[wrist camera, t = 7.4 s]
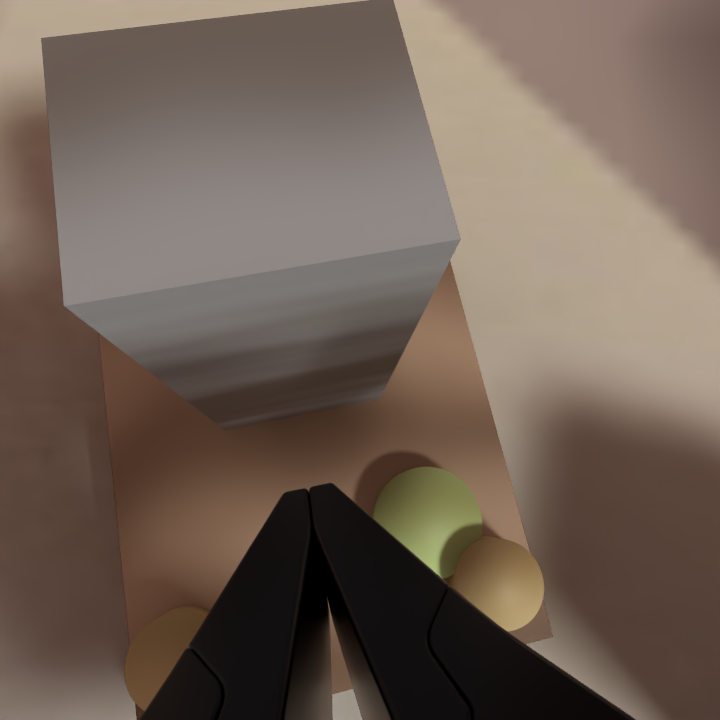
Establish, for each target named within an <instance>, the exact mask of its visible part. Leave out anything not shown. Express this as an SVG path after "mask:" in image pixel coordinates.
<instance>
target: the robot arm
mask: <svg viewBox="0 0 720 720" xmlns="http://www.w3.org/2000/svg"><path fill="white" fill-rule="evenodd" d="M328 603H329V606H328ZM329 608H330V612H331V616H332V620H333V624H334V628H335V631H336V634H337V637H338V641H339V644H340V647H341V650H342V654H343V657H344V660H345V663H346V667H347V670H348V673H349V677H350V680H351V683H352V686H353V690H354V693H355V696H356V699H357V703H358V706H359V709H360V713H361V716H362V719H363V720H636V719H634V718H633V717H631V716H630V715H628V714H627V713H625V712H624V711H623V710H621V709H620V708H618V707H617V706H615V705H614V704H612V703H611V702H609V701H608V700H606V699H605V698H603V697H602V696H600V695H599V694H597V693H596V692H595V691H593V690H592V689H590V688H589V687H587V686H586V685H584V684H583V683H581V682H580V681H578V680H577V679H575V678H574V677H572V676H571V675H570V674H568V673H567V672H565V671H564V670H562V669H561V668H559V667H558V666H556V665H555V664H553V663H552V662H550V661H549V660H547V659H546V658H545V657H543V656H542V655H540V654H539V653H537V652H536V651H534V650H533V649H531V648H530V647H529V646H527V645H526V644H524V643H523V642H522V641H520V640H519V639H517V638H516V637H515V636H513V635H512V634H510V633H509V632H508V631H506V630H505V629H503V628H502V627H501V626H499V625H498V624H497V623H495V622H494V621H493V620H492V619H490V618H489V617H488V616H487V615H485V614H484V613H483V612H482V611H481V610H479V609H478V608H477V607H476V606H474V605H473V604H472V603H471V602H470V601H468V600H467V599H466V598H465V597H464V596H463V595H462V594H460V593H459V592H458V591H457V590H456V589H455V588H454V587H450V586H449V584H448V583H447V582H446V581H444V580H443V579H442V578H441V577H440V576H439V575H438V574H436V573H435V572H434V571H433V570H432V569H431V568H430V567H428V566H427V565H426V564H425V563H424V562H423V561H422V560H420V559H419V558H418V557H417V556H416V555H415V554H414V553H412V552H411V551H410V550H409V549H408V548H407V547H406V546H404V545H403V544H402V543H401V542H400V541H399V540H397V539H396V538H395V537H394V536H393V535H392V534H391V533H389V532H388V531H387V530H386V529H385V528H384V527H383V526H381V525H380V524H379V523H378V522H377V521H376V520H375V519H373V518H372V517H371V516H370V515H369V514H368V513H367V512H365V511H364V510H363V509H362V508H361V507H360V506H359V505H357V504H356V503H355V502H354V501H353V500H352V499H351V498H349V497H348V496H347V495H346V494H345V493H344V492H343V491H341V490H340V489H339V488H338V487H337V486H336V485H334V484H333V483H326V484H321V485H317V486H312V487H311V488H310V489H309V491H308V490H307V489H305V488H302V489H297V490H292V491H288V492H285V493H284V494H283V495H282V496H281V498H280V499H279V501H278V502H277V504H276V506H275V507H274V509H273V510H272V512H271V514H270V515H269V517H268V518H267V520H266V522H265V523H264V525H263V526H262V528H261V530H260V531H259V533H258V534H257V536H256V538H255V539H254V541H253V542H252V544H251V546H250V547H249V549H248V551H247V552H246V554H245V555H244V557H243V559H242V560H241V562H240V563H239V565H238V567H237V568H236V570H235V571H234V573H233V575H232V576H231V578H230V579H229V581H228V583H227V584H226V586H225V587H224V589H223V591H222V592H221V594H220V595H219V597H218V599H217V600H216V602H215V603H214V605H213V607H212V608H211V610H210V611H209V613H208V615H207V616H206V618H205V619H204V621H203V623H202V624H201V626H200V627H199V629H198V631H197V632H196V634H195V635H194V637H193V639H192V640H191V642H190V643H189V648H186V649H185V650H184V652H183V653H182V655H181V656H180V658H179V660H178V661H177V663H176V664H175V666H174V668H173V669H172V671H171V672H170V674H169V675H168V677H167V678H166V680H165V681H164V683H163V684H162V686H161V687H160V689H159V690H158V692H157V693H156V695H155V696H154V698H153V699H152V701H151V702H150V704H149V705H148V707H147V708H146V710H145V711H144V713H143V714H142V715H141V717H140V718H139V719H138V720H332V679H331V636H330V614H329Z"/></svg>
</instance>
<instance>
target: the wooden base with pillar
mask: <svg viewBox="0 0 720 720" xmlns="http://www.w3.org/2000/svg"><path fill="white" fill-rule="evenodd" d="M41 42H42V53H43V65H44V77H45V89H46V101H47V113H48V125H49V136H50V148H51V160H52V172H53V184H54V196H55V208H56V219H57V231H58V243H59V255H60V267H61V279H62V291H63V302H64V307H66V308H67V309H68V310H70V311H71V312H72V313H73V314H75V315H76V316H77V317H79V318H80V319H81V320H83V321H84V322H85V323H86V324H88V325H89V326H90V327H92V328H93V329H94V330H96V331H97V332H98V334H99V344H100V354H101V364H102V374H103V384H104V394H105V404H106V414H107V424H108V434H109V444H110V455H111V465H112V475H113V485H114V495H115V505H116V515H117V525H118V535H119V545H120V555H121V565H122V575H123V585H124V595H125V605H126V615H127V625H128V635H129V645H130V648H129V651H128V654H127V657H126V661H125V681H126V686H127V689H128V691H129V694H130V696H131V697H132V699H133V700H134V702H135V706H136V716H137V720H138V719H139V718H140V717H141V715H142V714H143V713H144V711H145V710H146V708H147V707H148V705H149V704H150V702H151V701H152V699H153V698H154V696H155V695H156V693H157V692H158V690H159V689H160V687H161V686H162V684H163V683H164V681H165V680H166V678H167V677H168V675H169V674H170V672H171V671H172V669H173V668H174V666H175V664H176V663H177V661H178V660H179V658H180V656H181V655H182V653H183V652H184V650H185V649H186V648H189V643H190V642H191V640H192V639H193V637H194V635H195V634H196V632H197V631H198V629H199V627H200V626H201V624H202V623H203V621H204V619H205V618H206V616H207V615H208V613H209V611H210V610H211V608H212V607H213V605H214V603H215V602H216V600H217V599H218V597H219V595H220V594H221V592H222V591H223V589H224V587H225V586H226V584H227V583H228V581H229V579H230V578H231V576H232V575H233V573H234V571H235V570H236V568H237V567H238V565H239V563H240V562H241V560H242V559H243V557H244V555H245V554H246V552H247V551H248V549H249V547H250V546H251V544H252V542H253V541H254V539H255V538H256V536H257V534H258V533H259V531H260V530H261V528H262V526H263V525H264V523H265V522H266V520H267V518H268V517H269V515H270V514H271V512H272V510H273V509H274V507H275V506H276V504H277V502H278V501H279V499H280V498H281V496H282V495H283V494H284V493H285V492H288V491H292V490H297V489H302V488H305V489H307V490H308V491H309V489H310V488H311V487H312V486H317V485H321V484H326V483H333V484H334V485H336V486H337V487H338V488H339V489H340V490H341V491H343V492H344V493H345V494H346V495H347V496H348V497H349V498H351V499H352V500H353V501H354V502H355V503H356V504H357V505H359V506H360V507H361V508H362V509H363V510H364V511H365V512H367V513H368V514H369V515H370V516H371V517H372V518H373V519H375V520H376V521H377V522H378V523H379V524H380V525H381V526H383V527H384V528H385V529H386V530H387V531H388V532H389V533H391V534H392V535H393V536H394V537H395V538H396V539H397V540H399V541H400V542H401V543H402V544H403V545H404V546H406V547H407V548H408V549H409V550H410V551H411V552H412V553H414V554H415V555H416V556H417V557H418V558H419V559H420V560H422V561H423V562H424V563H425V564H426V565H427V566H428V567H430V568H431V569H432V570H433V571H434V572H435V573H436V574H438V575H439V576H440V577H441V578H442V579H443V580H444V581H446V582H447V583H448V584H449V586H450V587H454V588H455V589H456V590H457V591H458V592H459V593H460V594H462V595H463V596H464V597H465V598H466V599H467V600H468V601H470V602H471V603H472V604H473V605H474V606H476V607H477V608H478V609H479V610H481V611H482V612H483V613H484V614H485V615H487V616H488V617H489V618H490V619H492V620H493V621H494V622H495V623H497V624H498V625H499V626H501V627H502V628H503V629H505V630H506V631H508V632H509V633H510V634H512V635H513V636H515V637H516V638H517V639H519V640H520V641H522V642H523V643H524V644H527V643H531V642H535V641H539V640H543V639H547V638H551V637H553V635H552V631H551V627H550V624H549V620H548V616H547V613H546V609H545V605H544V602H543V595H544V580H543V576H542V572H541V569H540V567H539V565H538V563H537V561H536V560H535V558H534V557H533V556H532V554H531V553H530V551H529V547H528V543H527V540H526V536H525V532H524V529H523V525H522V522H521V518H520V514H519V511H518V507H517V503H516V500H515V496H514V492H513V489H512V485H511V481H510V478H509V474H508V471H507V467H506V463H505V460H504V456H503V452H502V449H501V445H500V441H499V438H498V434H497V430H496V427H495V423H494V420H493V416H492V412H491V409H490V405H489V401H488V398H487V394H486V390H485V387H484V383H483V379H482V376H481V372H480V369H479V365H478V361H477V358H476V354H475V350H474V347H473V343H472V339H471V336H470V332H469V328H468V325H467V321H466V317H465V314H464V310H463V307H462V303H461V299H460V296H459V292H458V288H457V285H456V281H455V277H454V274H453V270H452V266H451V263H450V259H451V257H452V255H453V253H454V251H455V249H456V247H457V245H458V244H459V242H460V240H461V238H460V235H459V231H458V228H457V224H456V221H455V217H454V213H453V210H452V206H451V203H450V199H449V196H448V192H447V189H446V185H445V182H444V178H443V175H442V171H441V167H440V164H439V160H438V157H437V153H436V150H435V146H434V143H433V139H432V136H431V132H430V129H429V125H428V121H427V118H426V114H425V111H424V107H423V104H422V100H421V97H420V93H419V90H418V86H417V83H416V79H415V75H414V72H413V68H412V65H411V61H410V58H409V54H408V51H407V47H406V44H405V40H404V37H403V33H402V29H401V26H400V22H399V19H398V15H397V12H396V8H395V5H394V1H393V0H368V1H360V2H351V3H342V4H334V5H325V6H316V7H307V8H299V9H290V10H281V11H273V12H264V13H255V14H247V15H238V16H229V17H221V18H212V19H203V20H195V21H186V22H177V23H169V24H160V25H151V26H142V27H134V28H125V29H116V30H108V31H99V32H90V33H82V34H73V35H64V36H56V37H47V38H41ZM328 606H329V603H328ZM329 614H330V636H331V679H332V694H335V693H339V692H342V691H346V690H350V689H353V686H352V683H351V680H350V677H349V673H348V670H347V667H346V663H345V660H344V657H343V654H342V650H341V647H340V644H339V641H338V637H337V634H336V631H335V628H334V624H333V620H332V616H331V612H330V608H329Z"/></svg>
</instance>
